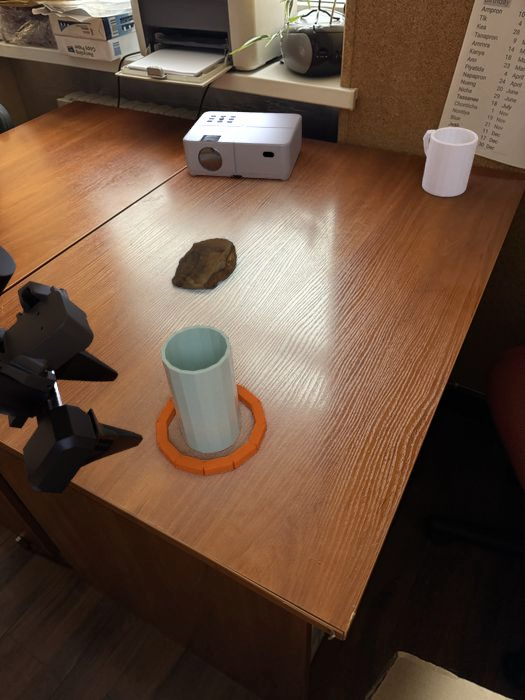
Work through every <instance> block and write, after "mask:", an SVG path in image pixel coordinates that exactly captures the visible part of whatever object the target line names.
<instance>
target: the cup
mask: <svg viewBox="0 0 525 700" xmlns="http://www.w3.org/2000/svg"><path fill="white" fill-rule="evenodd" d="M160 355H161V362H162V366H163V369H164V373H165V376H166V381H167V384H168V388H169V392H170V395H171V398H172V399H173V403H174V406H175V410H176V413H175V415H176V418H177V420H178V421H177V422H178V425H179V429H180V431H181V435H182V438H183V441H184V442H185V443H186V445H187V446H188V447H189V448H191V449H192V450H193V451H196V452H199V453H203V454H215V453H219V452H223V451H225V450H227V449H229V448H230V447H231V446H232V445H234V444H235V443H236V442H237V440H238V439H239V437H240V435H241V432H242V418H241V411H240V410H241V409H240V402H239V399H238V394H237V386H236V384H237V381H236V379H237V378H236V372H235V365H234V358H233V357H234V356H233V350H232V344H231V339H230V337H229V336H228V334H226V333H225V332H224V331H223V330H222V329H220V328H218V327H214V326H212V325H206V324H205V325H204V324H195V325H191V326H189V325H188V326H185V327H183V328H181V329H179V330H176V331H175V332H173V333H172V334H170V335H169V336H168V337H167V338H166V339H165V340H164V342H163V344H162V346H161V348H160Z"/></svg>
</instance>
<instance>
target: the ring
mask: <svg viewBox="0 0 525 700" xmlns="http://www.w3.org/2000/svg"><path fill="white" fill-rule="evenodd" d="M236 386H237V394H238V401H240V402H241V403H242V404H244V405H245V406H246V407H247V408H248V409H249V410H251V412H252V417H253V420H254V425H253V428H252V431H251V434H250V435H249V438H248V440H247V441H246V442H245V443H244V444H242V445H241V446H240V447H238V448H237V449H236V450H234V452H233V451H232V453H230V454H229V455H226V456H221V457H217V458H210V459H207V460H204V459H200V458H196V457H193V456H188V455H184V454H182V453H180V451H179V449H177V448H176V447H175V446H174V445H173V444H172V443H171V441H170V435H169V434H170V433H169V426H170V424H171V422H172V421H173V419H174V417H175V416H176V410H175V406H174V403H173V399H172V397H170V398H169V400H167V401H166V403H165V405H164V406H163V408H162V410H161V411H160V413H159V415H158V416H157V418H156V421H155V431H156V444H157V447H158V449H159V452H160V453H161V454H162V455H163V456H164V457H165V458H166V459H167V460H168V462H169V463H170V464H171V465H172V466H173V467H174V468H176V470H179V471H182V472H187V473H190V474H194V475H197V476H200V477H204V476H205V477H208V476H212V475H217V474H221V473H227V472H231V471H234V470H236V469H238V468H239V467H240V466H242V465H243V464H244V463H246V462H247V461H248V460H249V459H251V458H252V457H253V456H255V455H256V454H257V453H258V451H259V450H260V447H261V445H262V443H263V441H264V437H265V435H266V432H267V428H268V426H267V419H266V415H265V411H264V408H263V404H262V401H261V400H260V399H259V398H258V397H257V396H256V395H254V394H253V393H252V392H251V391H250V390H249V389H248V388H246V387H245V386H242V384H238V383H236Z"/></svg>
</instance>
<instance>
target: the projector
mask: <svg viewBox="0 0 525 700" xmlns="http://www.w3.org/2000/svg"><path fill="white" fill-rule="evenodd" d="M302 122H303V117H302V115H301V114H298V113H283V112H281V113H280V112H279V113H277V112H276V113H275V112H242V111H239V112H238V111H205V112H204V113H203V114H201V116H200V117H199V118H198V120H197V121H196V122H195V123H194V125H193V126H192V127H191V129H189V131H188V132H187V133H186V134H185V136H184V137H183V138H182V143H183V150H184V156H185V162H186V163H185V164H186V168H187V170H188V171H187V172H188V174H190V175H191V176H192V177H195V176H196V177H197V176H212V177H213V176H214V177H232V178H235V179H240V178H250V179H251V178H252V179H253V178H254V179H271V180H281V181H283V182H284V181H287V180H288V179H289V178H290V177H291V175H292V172H293V170H294V167H295V165H296V162H297V159H298V157H299V155H300V153H301V150H302V145H303V144H302V142H303V134H302V133H303V132H302V131H303V129H302V128H303V123H302Z"/></svg>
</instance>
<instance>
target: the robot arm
mask: <svg viewBox="0 0 525 700" xmlns="http://www.w3.org/2000/svg"><path fill="white" fill-rule="evenodd" d="M16 263H17V262H16V261H15V260H14V258H13V257H12V255H11V253H9V252H8V251H7V249H5V248H4V247H3V246H2V245H0V297H2V294H3V293H4V291H5V289H6V288H7V286H8V284H9V283H10V281H11V280H12V278H13V276H14V274H15V273H16V270H17V264H16ZM17 295H18V300H19V304H20V306H21V309H22V312H20V311H18V312H17V313H16V314H15V317H16V321H15V323H13V324H12V325H11V326H10V327H8V328H2V327H0V415H3V416H7V420H8V421H7V422H8V427H9V428H14V429H23V427H24V426H25V423H26V422H27V421H28V419H34V418H35V419H36V423H37V427H36V429H35V430H34V432H33V433H32V435H31V436H30V438H29V439H28V441H27V442H26V443H25V444H24V446H23V448H22V453H23V459H24V465H25V472H26V478H27V483H28V484H29V485H30V487H31V488H32V490H33V491H34V492H38V493H47V494H60V495H62V494H63V493H64V491H65V490H66V488H67V487H68V486H69V484H71V482H72V480H73V479H74V478H75V476H76V475H77V473H78V472H79V471H80V469H82V468H83V467H85V466H88V465H89V464H92V463H93V462H96V461H99V460H101V459H103V458H107V457H110V456H112V455H116V454H119V453H121V452H125V451H127V450H130V449H133V448H137V447H138V446H139V445H140V444H141V443H142V442H143V440H144V437H143V435H142V434H139V433H137V432H134V431H132V430H128V429H124V428H120V427H117V426H113V425H111V424H110V425H109V424H106V423H102V422H99V420H98V418H97V416H96V413H95V411H94V409H93V408H92V407H90V408H89V409H88V411H87V412H86V411H84V410H83V409H82V408H81V407H80V406H77V405H73V404H68V403H65V404H63V401H62V398H61V394H60V390H59V386H58V382H57V381H72V382H73V381H74V382H94V383H105V382H106V383H107V382H109V383H110V382H115V381H116V379H117V378H118V377H119V372H118V371H117V370H116V369H114V368H113V367H111V366H110V365H109V364H107V363H105V362H104V361H103V360H101V359H100V358H98V357H97V356H95V355H93V354H92V353H91V352H89V351H88V350H87V349H89V347H91V345H92V343H93V342H94V337H95V334H94V331H93V330H92V328H91V326H90V324H89V321H88V314H87V313H86V312H85V311H84V310H83V309H82V308H80V307H79V306H78V305H77V304H76V303H74V302H73V301H72V300H71V299H70V298H69V294H68V292H67V289H65V288H63V287H61V288H57V286H55V285H52V286H51V285H48V284H44V283H40V282H36V281H34V280H29V281H28V282H26V283H25V284H23V285H22V286H21V287H20V288H18V289H17Z"/></svg>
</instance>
